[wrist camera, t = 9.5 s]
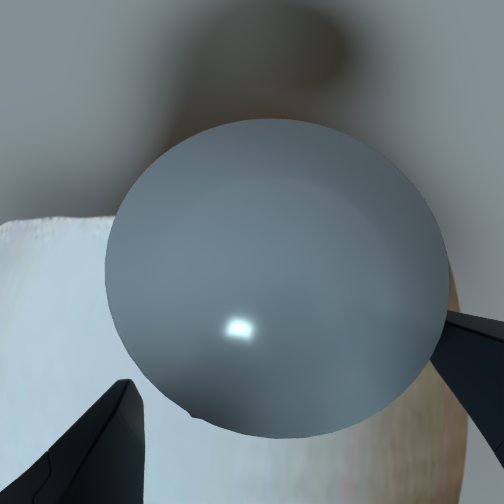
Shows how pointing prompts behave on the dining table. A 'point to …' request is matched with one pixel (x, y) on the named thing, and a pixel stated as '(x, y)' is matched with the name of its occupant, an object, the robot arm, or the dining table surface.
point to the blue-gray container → (277, 278)
